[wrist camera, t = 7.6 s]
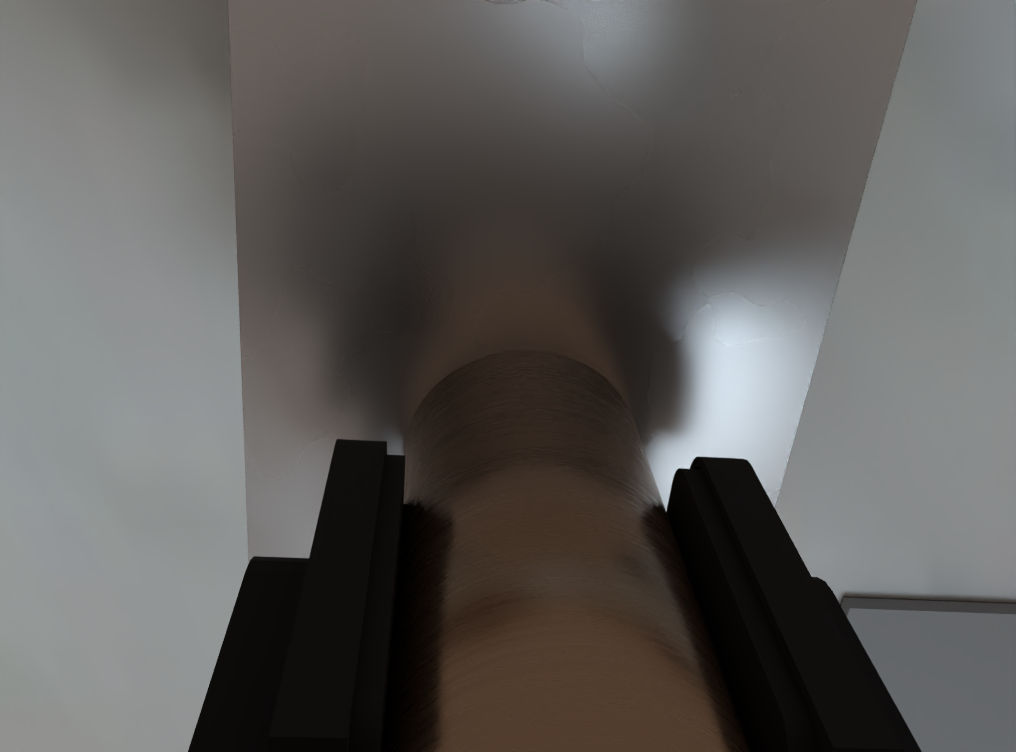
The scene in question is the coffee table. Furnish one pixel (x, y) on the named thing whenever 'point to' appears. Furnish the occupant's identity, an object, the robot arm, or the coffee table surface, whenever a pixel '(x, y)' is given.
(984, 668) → the mat
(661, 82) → the trowel
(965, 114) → the coffee table surface
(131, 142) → the coffee table surface
